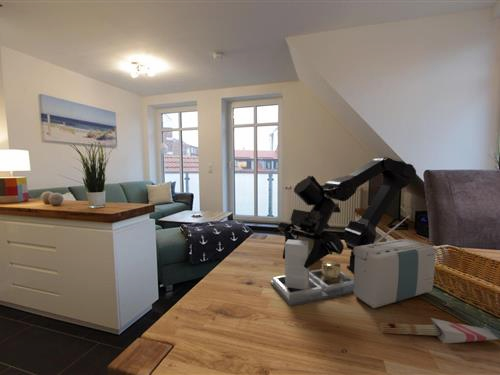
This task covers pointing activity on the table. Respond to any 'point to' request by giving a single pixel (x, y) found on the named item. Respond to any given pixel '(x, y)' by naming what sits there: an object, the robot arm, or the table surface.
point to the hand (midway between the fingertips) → (293, 262)
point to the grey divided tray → (317, 285)
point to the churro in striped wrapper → (441, 331)
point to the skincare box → (296, 264)
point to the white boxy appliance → (393, 270)
